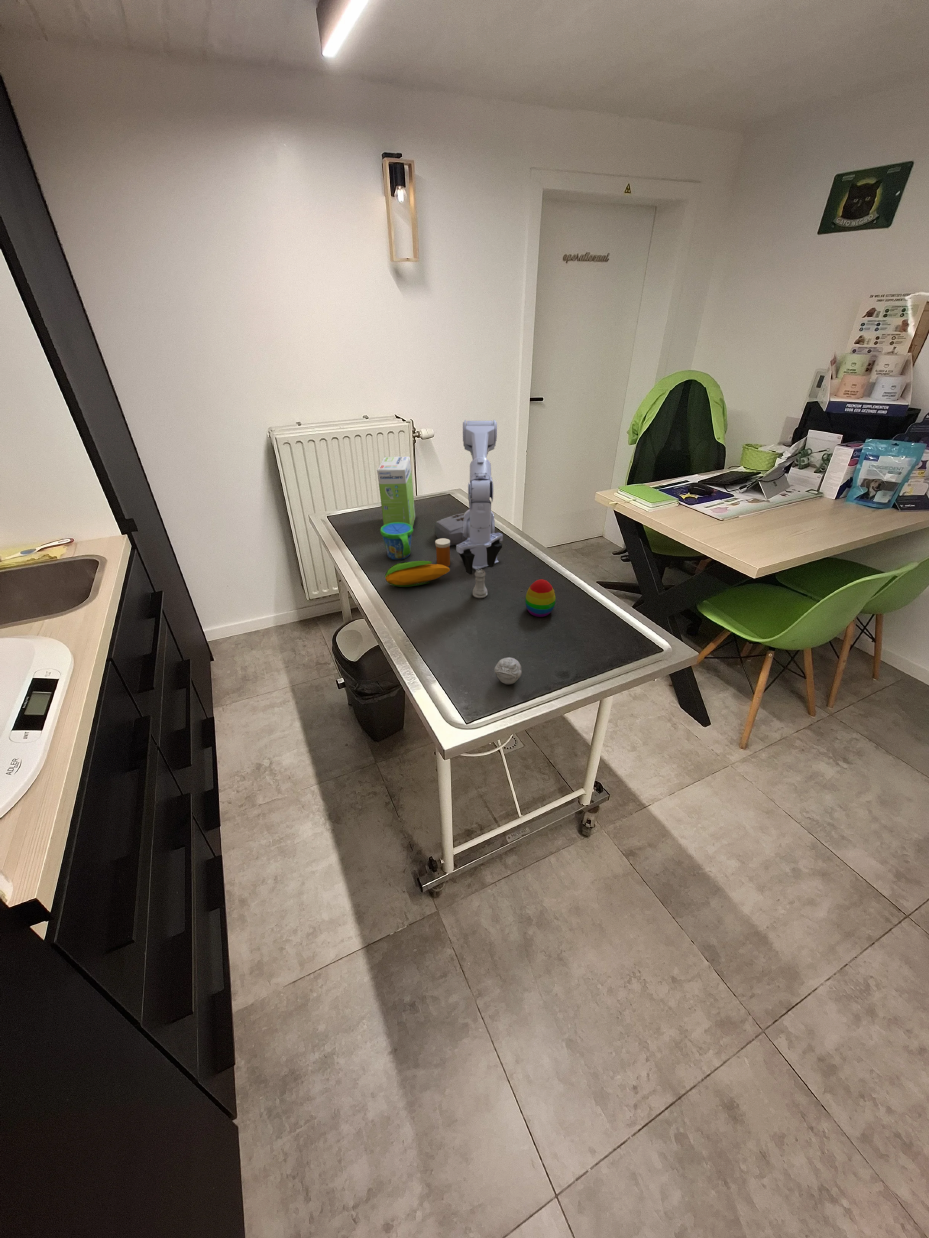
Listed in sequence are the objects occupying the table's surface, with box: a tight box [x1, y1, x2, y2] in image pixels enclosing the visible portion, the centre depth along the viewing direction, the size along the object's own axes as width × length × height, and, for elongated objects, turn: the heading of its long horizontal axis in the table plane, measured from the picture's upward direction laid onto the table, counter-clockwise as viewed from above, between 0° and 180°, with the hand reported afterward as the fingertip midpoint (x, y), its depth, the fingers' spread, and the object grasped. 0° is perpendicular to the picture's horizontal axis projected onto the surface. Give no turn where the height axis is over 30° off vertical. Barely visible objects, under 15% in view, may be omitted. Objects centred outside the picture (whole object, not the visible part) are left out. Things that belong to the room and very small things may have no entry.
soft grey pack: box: [433, 512, 467, 546], centre depth 176 cm, size 15×8×20 cm
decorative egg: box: [524, 578, 556, 618], centre depth 132 cm, size 8×8×10 cm
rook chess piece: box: [472, 568, 488, 599], centre depth 141 cm, size 4×4×8 cm
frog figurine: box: [494, 657, 522, 685], centre depth 109 cm, size 6×7×7 cm
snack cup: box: [379, 522, 414, 561], centre depth 162 cm, size 16×10×10 cm
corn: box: [384, 560, 451, 588], centre depth 147 cm, size 7×8×20 cm
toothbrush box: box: [376, 456, 416, 529], centre depth 180 cm, size 18×10×24 cm, turn 179°
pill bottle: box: [434, 538, 451, 567], centre depth 158 cm, size 5×5×8 cm
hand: (479, 569), depth 138 cm, fingers open, 7 cm apart
